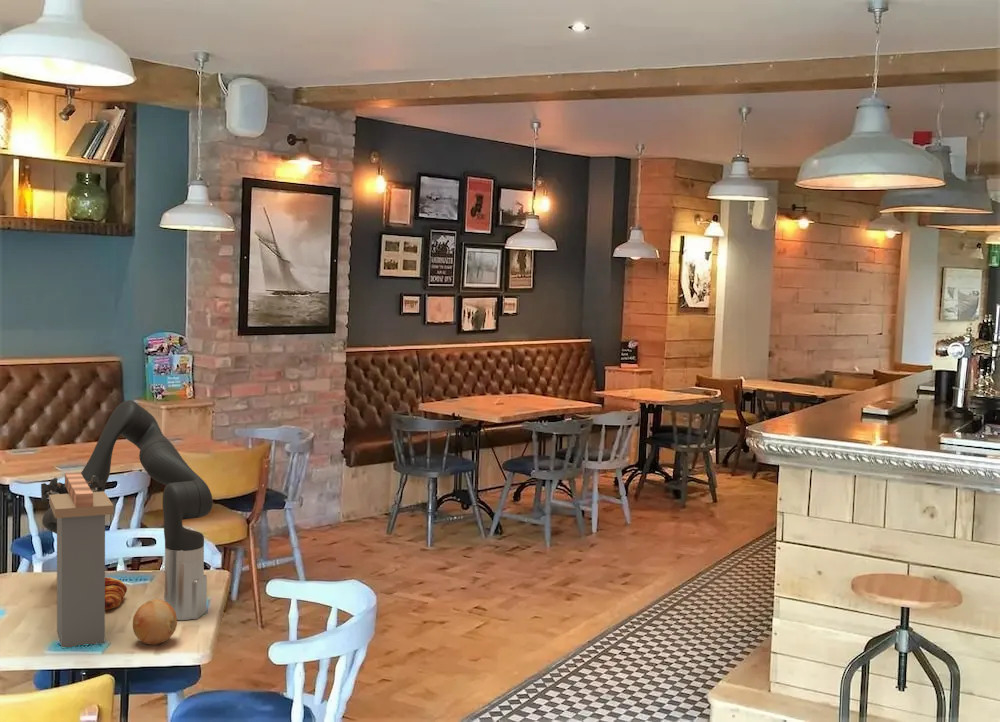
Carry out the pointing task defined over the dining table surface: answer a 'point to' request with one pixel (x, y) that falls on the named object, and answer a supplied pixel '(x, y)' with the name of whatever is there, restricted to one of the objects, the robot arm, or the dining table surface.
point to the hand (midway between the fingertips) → (75, 480)
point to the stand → (80, 569)
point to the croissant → (114, 592)
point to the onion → (154, 622)
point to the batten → (78, 490)
